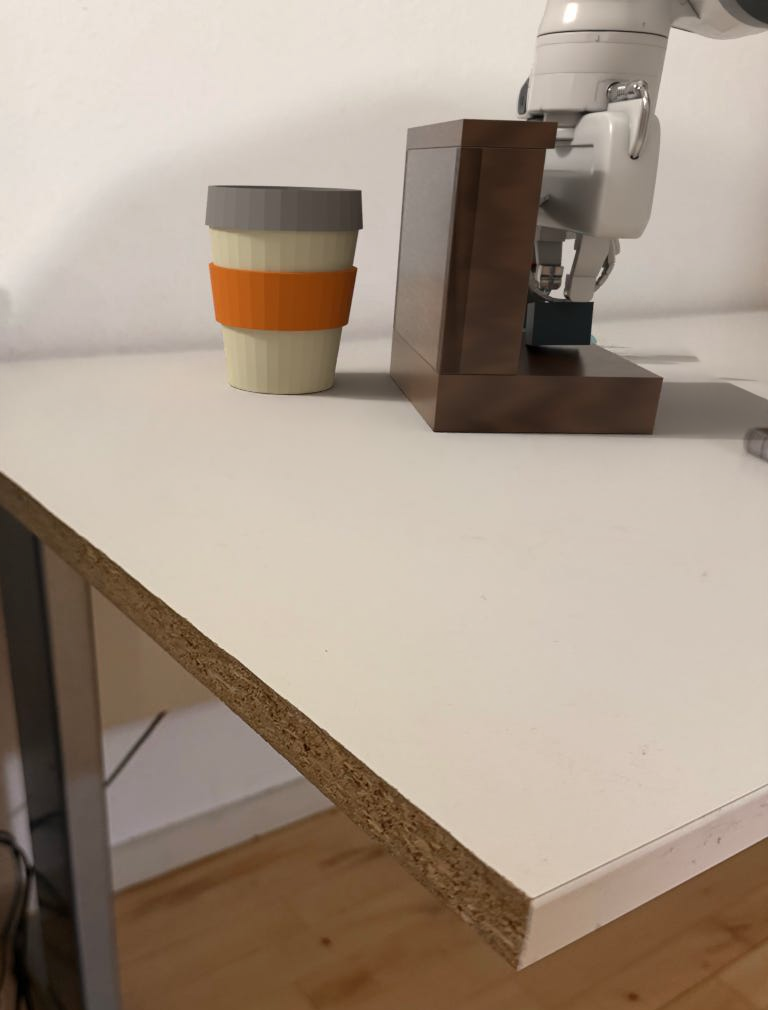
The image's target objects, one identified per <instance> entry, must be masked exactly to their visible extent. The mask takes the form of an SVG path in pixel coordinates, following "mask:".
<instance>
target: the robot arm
mask: <svg viewBox="0 0 768 1010" xmlns="http://www.w3.org/2000/svg"><path fill="white" fill-rule="evenodd" d="M671 28H672V29H674V30H679V31H683V32H688V33H691V34H695V35H698V36H701V37H704V38H706V39H707V38H708V39H712V40H718V41H722V40H723V41H726V40H737V39H740V38H744V37H748V36H754V35H759V34H762V33H765V32H768V0H546V4H545V9H544V12H543V14H542V18H541V21H540V23H539V25H538V28H537V33H536V39H535V47H534V54H533V61H532V63H531V66H530V70H529V74H528V76H527V78H526V80H525V81H524V82H523V84H522V85H521V86H520V88H519V90H518V93H517V98H516V105H515V117H516V118H517V120H523V121H549V122H558V128H557V135H556V143H555V149H546V157H545V165H544V172H543V180H542V188H541V195H540V198H542V197H544V196H545V195H548V194H549V199H548V200H547V201H545V202H544V203H542V204H541V205H540V206H539V210H538V218H537V226H536V233H535V252H536V263H537V267H536V274H535V279H536V280H537V281H538V282H539V288H541V289H544V290H551V291H557V290H559V289H560V288H561V286H562V283H563V276H564V270H565V266H563V265H562V261H563V245H564V243H565V242H566V240H567V239H566V233H567V231H568V232H573V233H576V236H575V239H574V243H573V250H574V251H575V254H574V258H573V260H572V264H571V268H570V272H569V273H566V274H565V279H564V288H563V293H562V294H563V297H564V299H568V300H570V301H572V302H591V301H592V300H593V298H594V294H595V292H594V289H595V283H596V281H597V279H598V277H599V274H600V272H601V271H602V269H603V268H602V265H603V263H604V261H605V259H606V257H607V255H608V253H609V247H610V241H611V238H616V239H619V240H620V239H622V240H623V239H624V240H637V239H640V238H641V237H642V235H643V234H644V232H645V230H646V229H647V226H648V225H649V222H650V218H651V215H652V210H653V203H654V196H655V189H656V183H657V177H658V176H657V174H658V168H659V159H660V148H661V135H662V133H661V123H660V119H659V118H658V116H657V115H656V109H657V108H656V107H657V104H658V99H659V92H660V86H661V82H662V76H663V72H664V71H663V70H664V65H665V59H666V54H667V51H668V44H669V37H670V32H671Z"/></svg>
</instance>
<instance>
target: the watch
mask: <svg viewBox="0 0 768 1010" xmlns="http://www.w3.org/2000/svg"><path fill="white" fill-rule="evenodd" d="M548 199H549V194H548V195H545V196H544V197H542V198H540V203H539V206H540V205H541V204H542V203H544V202H545V201H547V200H548ZM620 253H621V244H620V239H616V238H611V241H610V247H609V253H608V255H607V257H606V259H605V261H604V263H603V265H602V268H601V269H602V270H601V273H600V276H598V277H597V278H596V283H595V289H594V293H596V292H597V291H598V290H599V289H600V288H601V287H602V286H603V285H604V284H605V282H606V281H607V280H608V278H609V276H610V275H611V274H612V273H613V269H614V267H615V263H616V256H617V255H619V254H620ZM538 288H539V282H538V281H537V280H536V279H535V278H534V276H533V274H532V272H531V271H530V279H529V286H528V292H529V293H530V294H531V295H532V296H534V295H536V296H537V297H539V298H540V299H542V300H544V301H546V302H534V303H529V304H528V308H527V323H526V337H525V344H528V345H590V341H591V334H592V330H593V329H592V327H593V317H594V307H595V301H589V302H572V301H570V300H568V299H566V298H558V297H553V296H551V295H549V296H548V295H546V294H544V293H542V291H540V290H539V289H538Z"/></svg>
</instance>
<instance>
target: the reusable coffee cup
mask: <svg viewBox="0 0 768 1010" xmlns="http://www.w3.org/2000/svg"><path fill="white" fill-rule="evenodd" d="M206 199H207V200H206V210H205V219H204V220H205V221H204V225H205V226H208V228H209V236H210V244H211V252H212V261H211V262H210V263H208V269H209V270H208V271H209V279H210V286H211V293H212V294H211V295H212V301H213V310H214V319H215V321H216V322H217V323H219V324H220V326H221V333H222V341H223V349H224V358H225V364H226V375H227V382H228V384H229V385H230V386H232V387H233V388H237V389H239V390H243V391H247V392H253V393H261V394H272V395H301V394H302V395H303V394H311V393H318V392H323V391H326V390H329V389H331V388H333V386H334V380H335V376H336V375H335V374H336V367H337V362H338V356H339V351H340V345H341V340H342V333H343V327H346V326H347V325H348V324H349V322H350V316H351V315H350V314H351V309H352V305H353V304H352V303H353V298H354V292H355V288H356V287H355V286H356V280H357V276H358V275H357V274H358V269H359V268H358V267H357V266H354V261H355V256H356V250H357V244H358V238H359V234H360V233H359V232H360V231H361V230H363V229H364V218H363V216H364V215H363V214H364V213H363V194H362V189H357V188H341V187H340V188H339V187H338V188H337V187H320V186H319V187H318V186H317V187H315V186H290V185H288V186H286V185H285V186H282V185H248V184H247V185H243V184H241V185H239V184H238V185H235V184H230V185H229V184H226V185H225V184H224V185H223V184H221V185H220V184H218V185H216V184H214V185H208V186H207V196H206Z"/></svg>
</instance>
